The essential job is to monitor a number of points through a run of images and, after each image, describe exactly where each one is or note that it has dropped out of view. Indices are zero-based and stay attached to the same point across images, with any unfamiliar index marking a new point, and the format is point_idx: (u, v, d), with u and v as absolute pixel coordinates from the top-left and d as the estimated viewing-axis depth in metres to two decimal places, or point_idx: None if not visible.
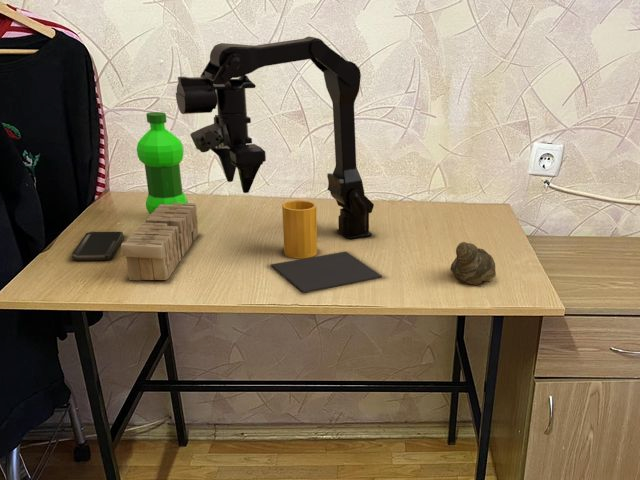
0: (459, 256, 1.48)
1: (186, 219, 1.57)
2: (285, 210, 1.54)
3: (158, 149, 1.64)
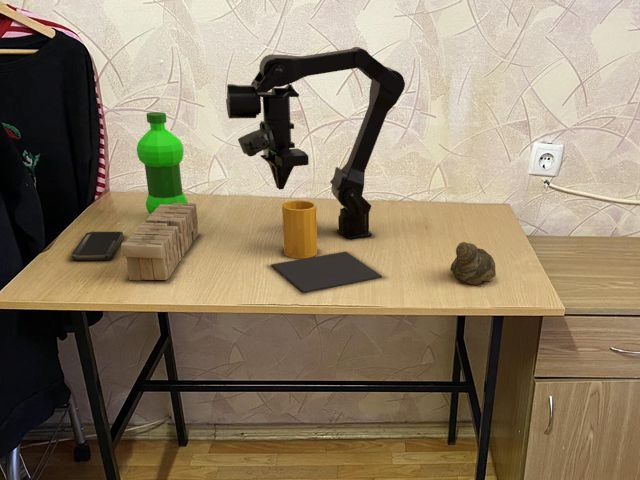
0: (459, 256, 1.48)
1: (186, 219, 1.57)
2: (285, 210, 1.54)
3: (158, 149, 1.64)
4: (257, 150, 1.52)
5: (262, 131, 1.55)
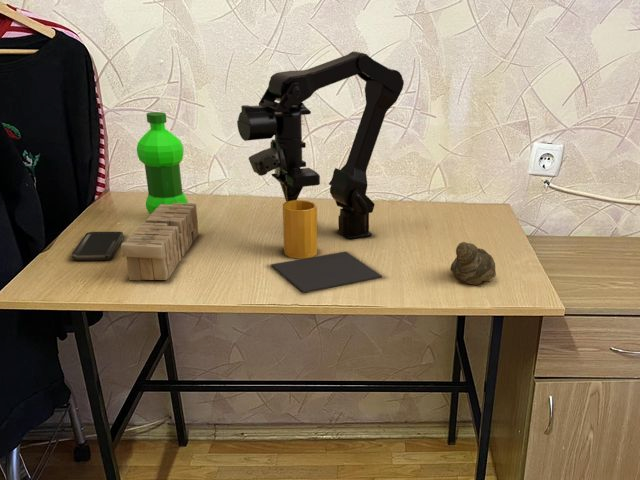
0: (459, 256, 1.48)
1: (186, 219, 1.57)
2: (286, 210, 1.54)
3: (158, 149, 1.64)
4: (268, 170, 1.49)
5: (273, 150, 1.52)
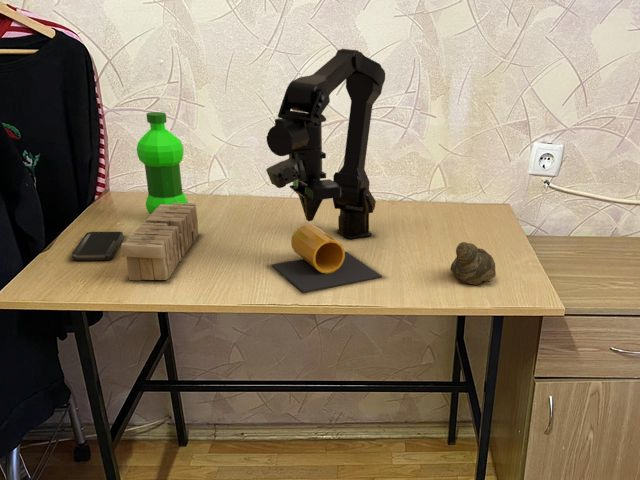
0: (459, 256, 1.48)
1: (186, 219, 1.57)
2: (312, 262, 1.48)
3: (158, 149, 1.64)
4: (287, 182, 1.42)
5: (292, 161, 1.45)
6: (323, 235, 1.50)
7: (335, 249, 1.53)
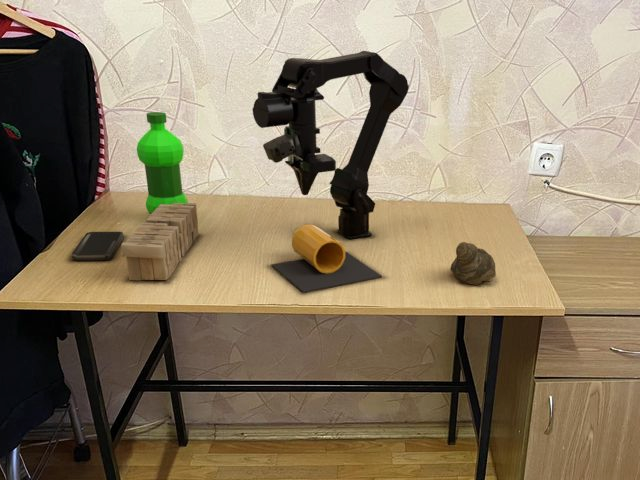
0: (459, 256, 1.48)
1: (186, 219, 1.57)
2: (312, 262, 1.48)
3: (158, 149, 1.64)
4: (284, 156, 1.48)
5: (287, 136, 1.51)
6: (324, 235, 1.50)
7: (335, 250, 1.53)
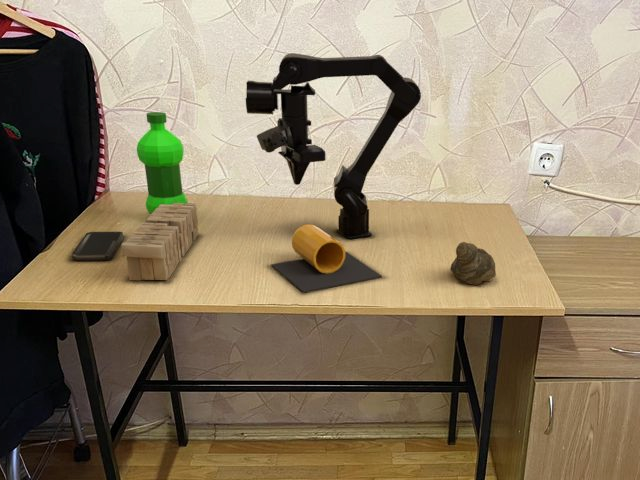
0: (459, 256, 1.48)
1: (186, 219, 1.57)
2: (312, 262, 1.48)
3: (158, 149, 1.64)
4: (276, 146, 1.56)
5: (280, 128, 1.59)
6: (324, 235, 1.50)
7: (335, 250, 1.53)
